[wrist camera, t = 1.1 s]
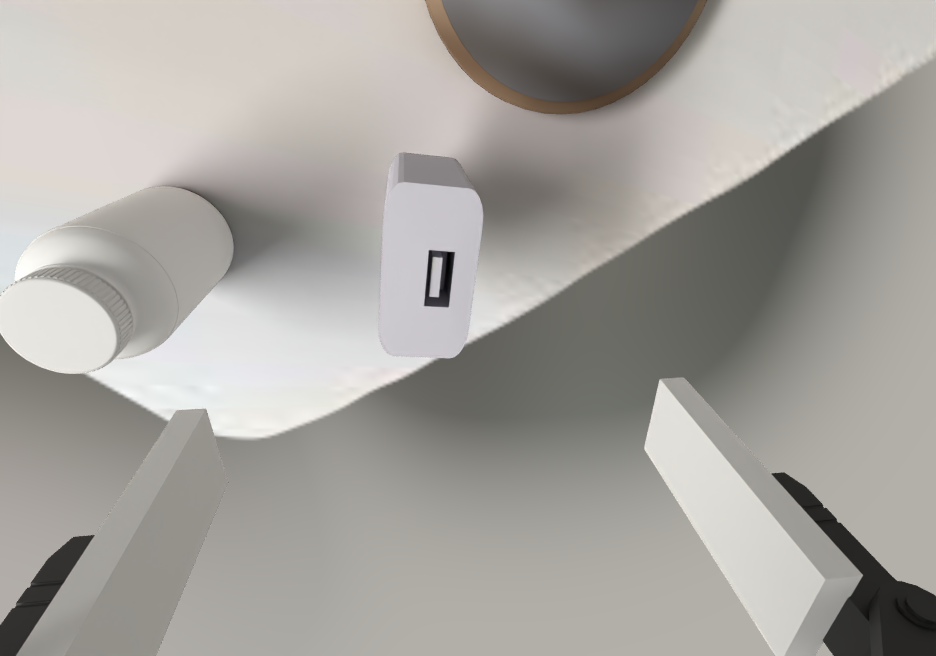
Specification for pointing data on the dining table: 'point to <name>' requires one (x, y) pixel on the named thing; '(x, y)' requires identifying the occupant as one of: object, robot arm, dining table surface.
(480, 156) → the dining table surface
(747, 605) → the robot arm
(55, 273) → the pill bottle
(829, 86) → the dining table surface
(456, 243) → the charger
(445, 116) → the dining table surface
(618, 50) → the round mirror
